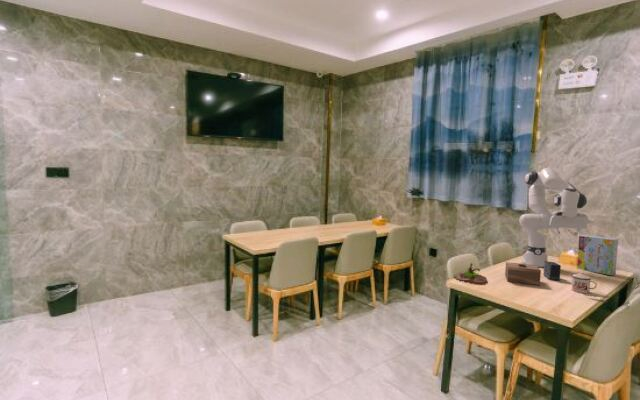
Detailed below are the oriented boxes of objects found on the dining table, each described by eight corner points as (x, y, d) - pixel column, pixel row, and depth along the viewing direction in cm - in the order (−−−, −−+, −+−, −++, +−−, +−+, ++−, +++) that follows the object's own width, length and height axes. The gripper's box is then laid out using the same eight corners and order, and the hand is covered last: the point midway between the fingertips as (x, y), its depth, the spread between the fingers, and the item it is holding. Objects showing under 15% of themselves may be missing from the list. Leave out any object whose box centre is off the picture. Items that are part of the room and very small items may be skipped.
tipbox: (505, 276, 242) (506, 262, 241) (535, 279, 235) (536, 265, 235) (507, 282, 229) (508, 266, 228) (539, 285, 222) (540, 270, 222)
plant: (488, 279, 235) (489, 262, 234) (486, 287, 218) (487, 269, 217) (456, 274, 245) (457, 258, 244) (452, 281, 228) (452, 264, 227)
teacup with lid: (570, 291, 213) (571, 272, 212) (572, 287, 220) (573, 269, 219) (595, 295, 205) (597, 276, 205) (596, 292, 212) (598, 273, 212)
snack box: (616, 274, 254) (619, 239, 253) (611, 276, 250) (614, 240, 248) (580, 267, 272) (583, 234, 271) (576, 269, 267) (578, 235, 266)
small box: (560, 280, 235) (561, 265, 234) (549, 280, 236) (550, 264, 235) (553, 276, 245) (554, 261, 244) (542, 275, 246) (543, 260, 246)
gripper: (586, 214, 230) (584, 235, 231) (549, 212, 237) (548, 232, 238) (589, 214, 224) (588, 236, 225) (551, 212, 231) (550, 233, 232)
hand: (567, 234), depth 231 cm, fingers open, 8 cm apart
